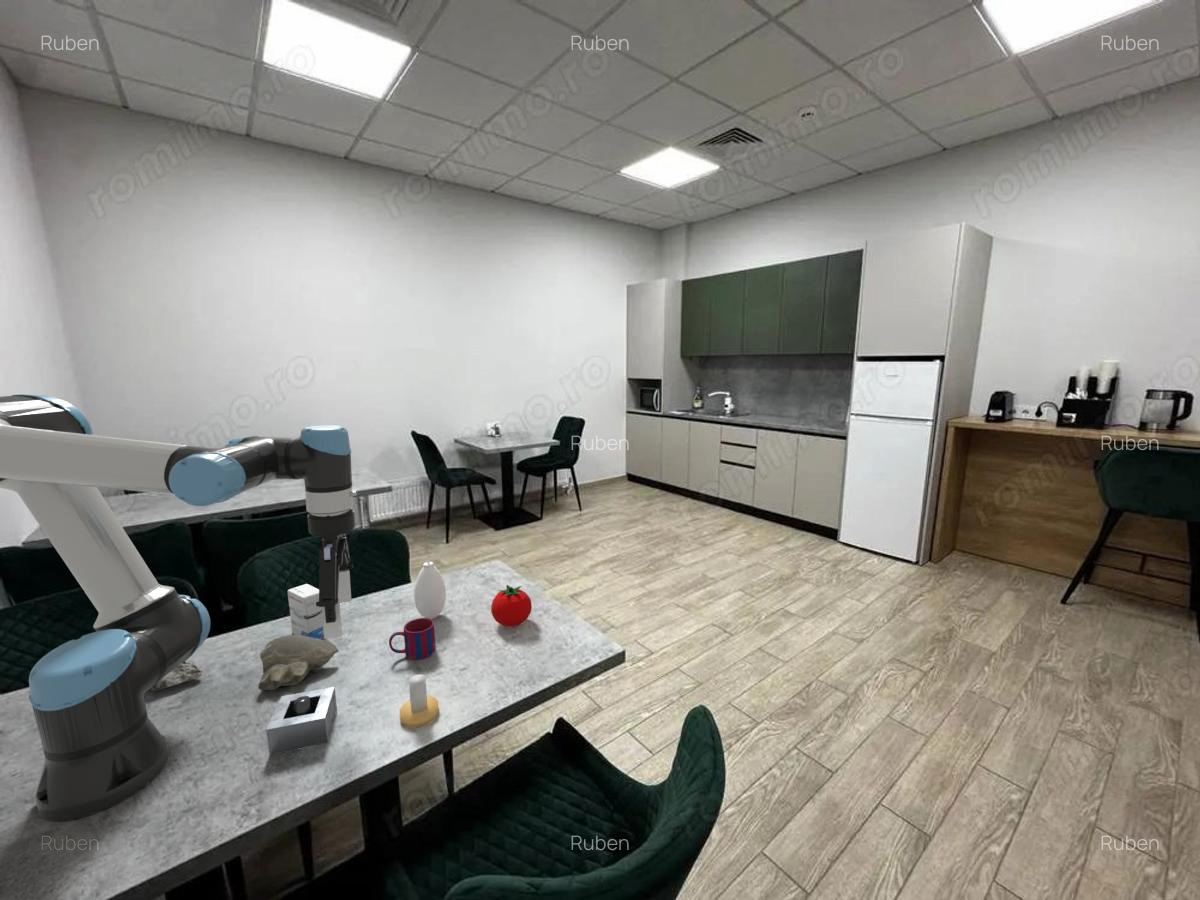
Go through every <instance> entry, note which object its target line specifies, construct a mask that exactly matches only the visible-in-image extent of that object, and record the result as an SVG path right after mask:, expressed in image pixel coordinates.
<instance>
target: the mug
mask: <svg viewBox="0 0 1200 900" xmlns="http://www.w3.org/2000/svg"><path fill="white" fill-rule="evenodd" d="M397 636H403V639H404V642H403V643H404V649H397V648H394V647H393V645H392V644H393V643H392V642H393V639H394V638H395V637H397ZM388 646H389V648H390V650H391V651H392V652H393V653H397V654H405V656H406V658H408V659H410V660H414V661H415V660H423V659H427V658H429V657H430V656H432V655H434V653H435V652H436V648H437V647H436V631H435V621H434V620H433V619H429V618H425V617H418V618H415V619H412V620H410V621H408V622H406V623H405V624H404V626H403V631H396V632H394V633H392V634H391V635H390V636H389V641H388Z"/></svg>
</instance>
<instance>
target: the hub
mask: <svg viewBox="0 0 1200 900" xmlns="http://www.w3.org/2000/svg"><path fill="white" fill-rule="evenodd" d="M408 686H409V687H408V689H409V690H408V691H409V699H408V700H407V701H406V702H404V703H403V704H402V705H401V707H400V709H399V720H400V723H401V724H402V725H404V727H407V728H418V727H423V726H425V725H427V724H430V723H432V721H434V720H435V719H436V718H437V716H438V715H439V710H440V708H439V700H438V699H437V698H436V697H435V696H433V695H428V693H427V682H426V676H425V674H415V675H413V676H411V677H410V678H409V679H408Z"/></svg>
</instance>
